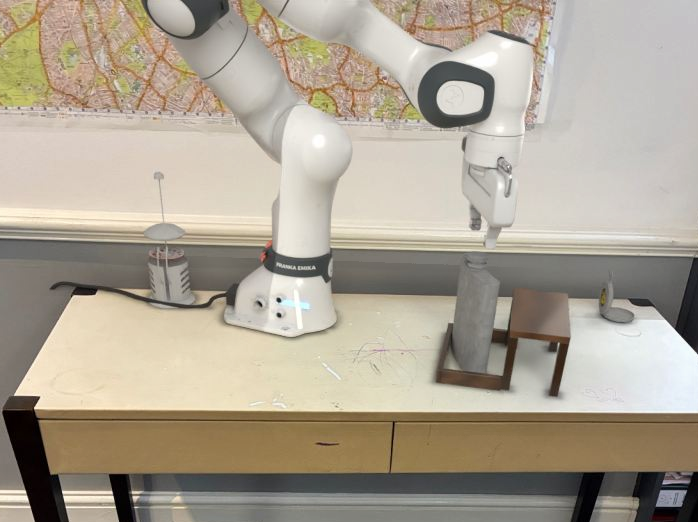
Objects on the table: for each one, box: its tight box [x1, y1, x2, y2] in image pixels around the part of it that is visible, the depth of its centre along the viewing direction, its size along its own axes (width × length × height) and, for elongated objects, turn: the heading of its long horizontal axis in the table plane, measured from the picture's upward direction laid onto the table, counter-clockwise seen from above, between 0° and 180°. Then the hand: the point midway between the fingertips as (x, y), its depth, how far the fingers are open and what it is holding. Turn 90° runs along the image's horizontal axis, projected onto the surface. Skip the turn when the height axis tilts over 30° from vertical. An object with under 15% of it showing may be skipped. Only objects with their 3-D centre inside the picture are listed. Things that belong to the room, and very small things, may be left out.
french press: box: [143, 171, 197, 309], centre depth 154 cm, size 10×12×25 cm
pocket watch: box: [598, 269, 636, 323], centre depth 164 cm, size 8×8×10 cm
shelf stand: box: [435, 287, 572, 398], centre depth 142 cm, size 22×21×11 cm
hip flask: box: [450, 251, 501, 374], centre depth 141 cm, size 16×4×20 cm, turn 9°
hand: (481, 238), depth 133 cm, fingers open, 8 cm apart
